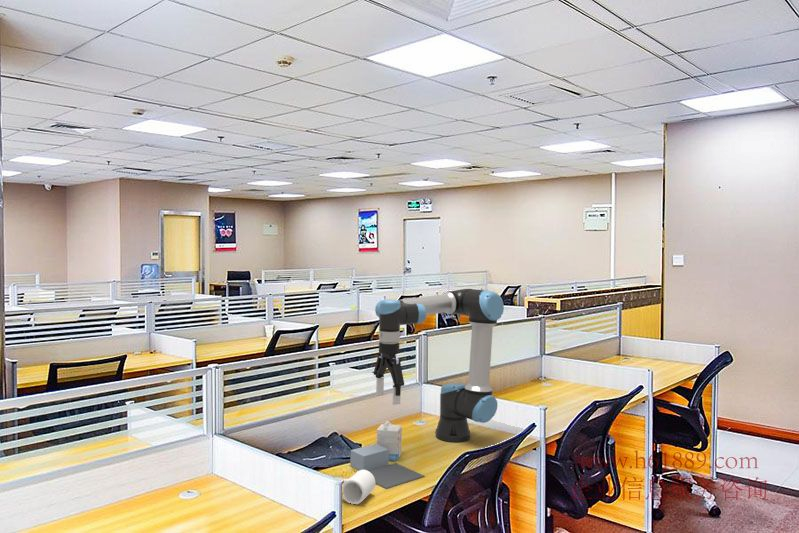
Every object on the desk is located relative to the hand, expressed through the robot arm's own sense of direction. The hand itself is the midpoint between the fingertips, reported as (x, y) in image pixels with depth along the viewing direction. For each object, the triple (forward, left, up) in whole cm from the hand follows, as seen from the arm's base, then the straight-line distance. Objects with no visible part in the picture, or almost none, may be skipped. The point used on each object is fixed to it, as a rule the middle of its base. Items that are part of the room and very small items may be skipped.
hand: (387, 399), depth 228 cm
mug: (+25, +12, -26) cm, 38 cm away
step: (+3, -7, -26) cm, 27 cm away
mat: (+3, +6, -26) cm, 27 cm away
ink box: (-9, -10, -26) cm, 30 cm away
